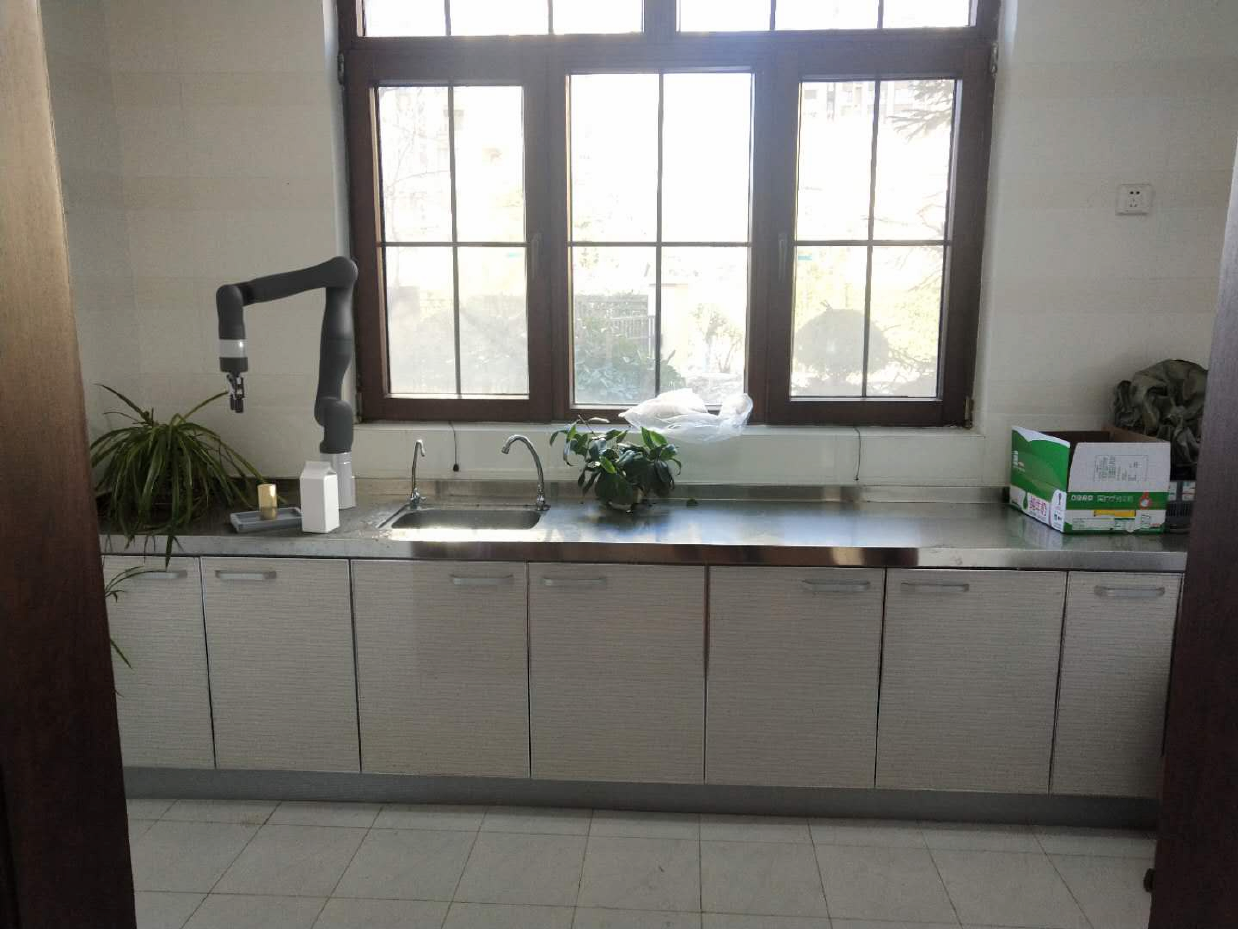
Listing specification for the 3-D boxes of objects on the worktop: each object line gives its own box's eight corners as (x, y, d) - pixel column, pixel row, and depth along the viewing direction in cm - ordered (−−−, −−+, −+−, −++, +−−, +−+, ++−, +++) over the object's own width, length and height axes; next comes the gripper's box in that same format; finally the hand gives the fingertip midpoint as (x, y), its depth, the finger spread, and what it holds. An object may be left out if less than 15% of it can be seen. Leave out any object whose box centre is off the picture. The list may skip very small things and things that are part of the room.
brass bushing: (271, 517, 241) (270, 483, 240) (280, 520, 239) (278, 485, 237) (256, 520, 238) (254, 485, 236) (265, 523, 235) (263, 488, 233)
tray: (297, 515, 249) (296, 506, 249) (308, 525, 237) (308, 516, 237) (230, 522, 239) (230, 513, 239) (239, 533, 228) (238, 524, 227)
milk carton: (325, 533, 229) (322, 464, 226) (302, 531, 231) (298, 463, 227) (339, 527, 236) (336, 460, 233) (316, 525, 238) (313, 459, 234)
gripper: (251, 356, 239) (255, 413, 242) (243, 353, 251) (246, 408, 254) (222, 356, 235) (226, 414, 238) (215, 354, 247) (219, 409, 250)
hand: (237, 411), depth 246 cm, fingers open, 8 cm apart
